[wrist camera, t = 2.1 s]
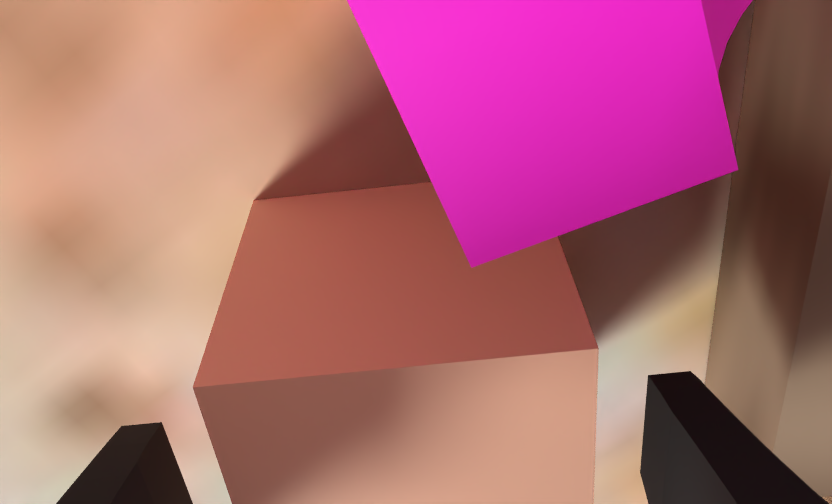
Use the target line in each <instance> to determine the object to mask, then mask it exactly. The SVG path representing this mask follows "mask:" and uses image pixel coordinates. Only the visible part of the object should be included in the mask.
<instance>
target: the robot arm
mask: <svg viewBox="0 0 832 504" xmlns="http://www.w3.org/2000/svg"><path fill="white" fill-rule="evenodd" d="M640 473H641V477H642V481H643V484H644V488H645V492H646V496H647V499H648V503H649V504H829V503H828V502H826V501H825V500H824V499H823V498H822V497H821V496H820V495H818V494H817V493H816V492H815V491H814V490H813V489H812V488H811V487H809V486H808V485H807V484H806V483H805V482H804V481H803V480H802V479H801V478H800V477H799V476H797V475H796V474H795V473H794V472H793V471H792V470H791V469H790V468H789V467H788V466H787V465H786V464H784V463H783V462H782V461H781V460H780V459H779V458H778V457H777V456H776V455H775V454H774V453H773V452H772V451H771V450H769V449H768V448H767V447H766V446H765V445H764V444H763V443H762V442H761V441H760V440H759V439H758V438H757V437H756V436H755V435H754V434H753V433H752V432H751V431H750V430H749V429H748V428H747V427H746V426H745V425H744V424H743V423H742V422H741V421H740V420H739V419H738V418H737V417H736V416H735V415H734V414H733V413H732V412H731V411H730V410H729V409H728V408H727V407H726V406H725V405H724V404H723V403H722V402H721V401H720V400H719V399H718V398H717V397H716V396H715V395H714V394H713V393H712V392H711V391H710V390H709V389H708V388H707V387H706V386H705V385H704V384H703V383H702V382H701V380H700V379H699V378H698V377H697V376H695V375H694V374H693V373H692V372H691V371H688V372H677V373H667V374H657V375H648V383H647V396H646V408H645V420H644V433H643V445H642V457H641V470H640ZM56 504H193V503H192V500H191V498H190V495H189V492H188V490H187V487H186V485H185V482H184V479H183V477H182V474H181V472H180V469H179V466H178V464H177V461H176V458H175V456H174V453H173V451H172V448H171V445H170V443H169V440H168V438H167V435H166V432H165V430H164V427H163V425H162V422H160V423H150V424H139V425H129V426H121V427H120V429H119V430H118V431H117V432H116V433H115V434H114V435H113V437H112V438H111V439H110V440H109V441H108V442H107V444H106V445H105V446H104V447H103V448H102V450H101V451H100V452H99V453H98V454H97V455H96V457H95V458H94V459H93V460H92V461H91V463H90V464H89V465H88V466H87V467H86V469H85V470H84V471H83V472H82V473H81V475H80V476H79V477H78V478H77V479H76V481H75V482H74V483H73V484H72V485H71V487H70V488H69V489H68V490H67V491H66V492H65V494H64V495H63V496H62V497H61V498H60V500H59V501H58V502H57V503H56Z"/></svg>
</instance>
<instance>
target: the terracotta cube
mask: <svg viewBox="0 0 832 504" xmlns="http://www.w3.org/2000/svg"><path fill="white" fill-rule="evenodd" d="M597 379H598V346H597V343H596V340H595V338H594V335H593V332H592V329H591V327H590V324H589V321H588V318H587V315H586V313H585V310H584V307H583V304H582V302H581V299H580V296H579V293H578V291H577V288H576V285H575V282H574V280H573V277H572V274H571V271H570V269H569V266H568V263H567V260H566V258H565V255H564V252H563V249H562V247H561V244H560V241H559V238H558V236H557V237H554V238H551V239H549V240H546V241H543V242H540V243H538V244H535V245H532V246H529V247H527V248H524V249H521V250H519V251H516V252H513V253H510V254H508V255H505V256H502V257H500V258H497V259H494V260H491V261H489V262H486V263H483V264H480V265H478V266H475V267H472V268H471V266H470V264H469V262H468V259H467V257H466V255H465V253H464V251H463V249H462V246H461V244H460V242H459V240H458V238H457V236H456V234H455V231H454V229H453V227H452V225H451V223H450V221H449V219H448V216H447V214H446V212H445V210H444V208H443V206H442V203H441V201H440V199H439V197H438V195H437V193H436V191H435V188H434V186H433V184H432V182H426V183H416V184H407V185H397V186H387V187H378V188H368V189H358V190H349V191H339V192H329V193H320V194H310V195H300V196H291V197H281V198H271V199H262V200H254V201H253V204H252V207H251V210H250V214H249V217H248V220H247V223H246V226H245V229H244V232H243V235H242V238H241V241H240V244H239V247H238V250H237V253H236V257H235V260H234V263H233V266H232V269H231V272H230V275H229V278H228V281H227V284H226V287H225V290H224V293H223V296H222V300H221V303H220V306H219V309H218V312H217V315H216V318H215V321H214V324H213V327H212V330H211V333H210V336H209V339H208V343H207V346H206V349H205V352H204V355H203V358H202V361H201V364H200V367H199V370H198V373H197V376H196V379H195V382H194V385H193V389H194V392H195V395H196V398H197V401H198V404H199V407H200V410H201V413H202V416H203V419H204V422H205V425H206V428H207V431H208V434H209V437H210V439H211V442H212V445H213V448H214V451H215V454H216V457H217V460H218V463H219V466H220V469H221V472H222V475H223V478H224V481H225V484H226V487H227V490H228V493H229V495H230V498H231V501H232V504H593V503H594V472H595V441H596V410H597Z"/></svg>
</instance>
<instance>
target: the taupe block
mask: <svg viewBox="0 0 832 504" xmlns="http://www.w3.org/2000/svg"><path fill="white" fill-rule="evenodd" d="M735 157H736V161H737V166H738V170H736V171H734V172H733V173H732V181H731V188H730V196H729V204H728V211H727V219H726V227H725V234H724V242H723V250H722V257H721V265H720V272H719V280H718V288H717V295H716V303H715V311H714V318H713V326H712V334H711V341H710V349H709V356H708V364H707V372H706V379H705V386H706V387H707V388H708V389H709V390H710V391H711V392H712V393H713V394H714V395H715V396H716V397H717V398H718V399H719V400H720V401H721V402H722V403H723V404H724V405H725V406H726V407H727V408H728V409H729V410H730V411H731V412H732V413H733V414H734V415H735V416H736V417H737V418H738V419H739V420H740V421H741V422H742V423H743V424H744V425H745V426H746V427H747V428H748V429H749V430H750V431H751V432H752V433H753V434H754V435H755V436H756V437H757V438H758V439H759V440H760V441H761V442H762V443H763V444H764V445H765V446H766V447H767V448H768V449H769V450H771V451H772V452H773V453H774V454H775V455H776V456H777V457H778V458H779V459H780V460H781V461H782V462H783V463H784V464H786V465H787V466H788V467H789V468H790V469H791V470H792V471H793V472H794V473H795V474H796V475H797V476H799V477H800V478H801V479H802V480H803V481H804V482H805V483H806V484H807V485H808V486H809V487H811V488H812V489H813V490H814V491H815V492H816V493H817V494H818V495H820V496H821V497H828V496H832V0H755V5H754V13H753V21H752V28H751V36H750V43H749V51H748V59H747V66H746V74H745V82H744V89H743V97H742V105H741V112H740V120H739V127H738V135H737V143H736V150H735Z"/></svg>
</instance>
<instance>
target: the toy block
mask: <svg viewBox="0 0 832 504" xmlns="http://www.w3.org/2000/svg"><path fill="white" fill-rule="evenodd" d="M347 1H348V3H349V6H350V8H351V10H352V12H353V14H354V16H355V18H356V21H357V23H358V25H359V27H360V29H361V31H362V34H363V36H364V38H365V40H366V42H367V44H368V46H369V49H370V51H371V53H372V55H373V57H374V59H375V61H376V64H377V66H378V68H379V70H380V72H381V74H382V77H383V79H384V81H385V83H386V85H387V87H388V89H389V92H390V94H391V96H392V98H393V100H394V102H395V104H396V107H397V109H398V111H399V113H400V115H401V117H402V120H403V122H404V124H405V126H406V128H407V130H408V132H409V135H410V137H411V139H412V141H413V143H414V145H415V148H416V150H417V152H418V154H419V156H420V158H421V160H422V163H423V165H424V167H425V169H426V171H427V173H428V175H429V178H430V180H431V182H432V184H433V186H434V188H435V191H436V193H437V195H438V197H439V199H440V201H441V203H442V206H443V208H444V210H445V212H446V214H447V216H448V219H449V221H450V223H451V225H452V227H453V229H454V231H455V234H456V236H457V238H458V240H459V242H460V244H461V246H462V249H463V251H464V253H465V255H466V257H467V259H468V262H469V264H470V266H471V268H472V267H475V266H478V265H480V264H483V263H486V262H489V261H491V260H494V259H497V258H500V257H502V256H505V255H508V254H510V253H513V252H516V251H519V250H521V249H524V248H527V247H529V246H532V245H535V244H538V243H540V242H543V241H546V240H549V239H551V238H554V237H557V236H559V235H562V234H565V233H568V232H570V231H573V230H576V229H578V228H581V227H584V226H587V225H589V224H592V223H595V222H598V221H600V220H603V219H606V218H608V217H611V216H614V215H617V214H619V213H622V212H625V211H627V210H630V209H633V208H636V207H638V206H641V205H644V204H647V203H649V202H652V201H655V200H657V199H660V198H663V197H666V196H668V195H671V194H674V193H677V192H679V191H682V190H685V189H687V188H690V187H693V186H696V185H698V184H701V183H704V182H706V181H709V180H712V179H715V178H717V177H720V176H723V175H726V174H728V173H731V172H734V171H736V170H738V166H737V161H736V157H735V152H734V148H733V143H732V139H731V134H730V129H729V125H728V120H727V116H726V111H725V107H724V102H723V98H722V93H721V89H720V84H719V80H718V71H719V67H720V64H721V61H722V58H723V54H724V51H725V48H726V45H727V42H728V40H729V38H730V36H731V34H732V32H733V30H734V29H735V27H736V25H737V23H738V21H739V19H740V17H741V15H742V14H743V13H744V11H745V10H746V9H747V7H748V6H749V5H750V3H751V2H752V1H753V0H347Z"/></svg>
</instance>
